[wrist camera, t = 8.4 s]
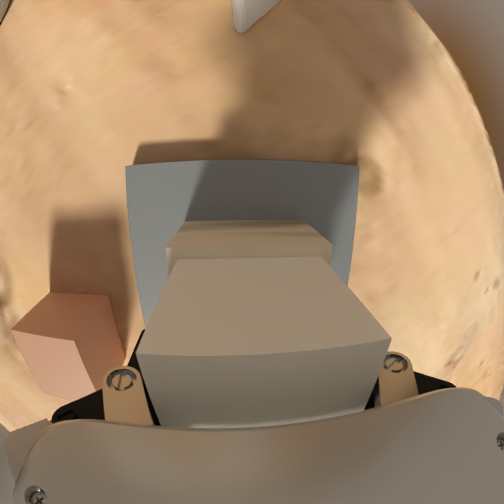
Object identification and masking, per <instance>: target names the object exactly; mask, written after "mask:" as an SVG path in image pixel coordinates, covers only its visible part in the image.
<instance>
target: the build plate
mask: <svg viewBox="0 0 504 504" xmlns="http://www.w3.org/2000/svg"><path fill="white" fill-rule="evenodd" d="M125 169H126V191H127V206H128V218H129V228H130V238H131V246H132V254H133V261H134V268H135V275H136V281H137V287H138V293H139V298H140V303H141V309H142V314H143V318H144V323H145V328H146V327H147V325H148V322H149V320H150V318H151V315H152V313H153V311H154V309H155V306H156V304H157V302H158V300H159V297H160V295H161V293H162V291H163V289H164V286H165V284H166V282H167V280H168V278H169V275H168V265H167V256H166V247H167V245H168V244H169V242H170V241H171V239H172V238H173V237H174V235H175V234H176V232H177V231H178V230H179V228H180V227H181V225H182V224H183V223H184V221H222V220H304V221H305V222H306V223H308V224H309V225H310V226H311V227H312V228H314V229H315V230H316V231H317V232H318V233H320V234H321V235H322V236H323V237H324V238H326V239H327V240H328V241H329V242H330V243H331V244H333V249H332V259H331V268H332V269H333V270H334V272H335V273H336V274H337V275H338V276H339V277H340V278H341V279H342V280H343V282H344V283H345V284H346V285H348V278H349V271H350V264H351V257H352V249H353V240H354V231H355V220H356V209H357V196H358V179H359V166H357V165H347V164H336V163H323V162H308V161H288V160H198V161H178V162H163V163H150V164H140V165H130V166H125Z"/></svg>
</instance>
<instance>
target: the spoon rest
mask: <svg viewBox="0 0 504 504" xmlns="http://www.w3.org/2000/svg"><path fill="white" fill-rule="evenodd" d="M280 1H281V0H231V5H232V12H233V24H234V28H235V30H236V31H237V32H239V33H243V32H245V31H246V30H248V29H249V28H250V27H251V26H252V25H253V24H254V23H256V22H257V21H258V20H259V19H260V18H261V17H262V16H264V15H265V14H266V13H267V12H268V11H270V10H271V9H272V8H273V7H274V6H275V5H277V4H278V3H279V2H280Z"/></svg>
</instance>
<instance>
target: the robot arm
mask: <svg viewBox="0 0 504 504" xmlns="http://www.w3.org/2000/svg"><path fill="white" fill-rule="evenodd" d="M9 2H10V0H0V22H1V20H2V18H3V16H4V14H5V12H6V10H7V7H8V5H9ZM144 332H145V329H144V330H143V331H142V332H141V335H140V337H139V339H138V342H137V344H136V346H135V349H134V351H133V353H132V356H131V358H130V361H129V363H128V365H127V366H119V367H115V368H113V369H111V370H109V371H108V372H107V373H106V374H105V375H104V377H103V380H102V389H100V390H98V391H95V392H93V393H91V394H89V395H87V396H85V397H82V398H80V399H78V400H76V401H73V402H71V403H69V404H66V405H64V406H62V407H60V408H59V409H57V410H56V411H55V412H54V414H53V416H52V420H50V421H48V420H47V418H46V419H44V420H41V421H39V422H36V423H33V424H31V425H28V426H25V427H23V428H20V429H17V430H15V431H12V432H10V433H9V434H8V435H7V436H6V437H5V440H4V448H5V452H6V456H7V459H8V462H9V466H10V469H11V472H12V475H13V478H14V481H15V487H14V490H13V493H12V497H11V500H10V504H504V418H503V406H502V404H501V403H500V402H499V401H498V400H496V399H494V398H490V397H485V396H483V395H482V394H481V393H479V392H478V391H476V390H474V389H470V388H461V387H460V388H457V387H456V386H455V385H453V384H452V383H450V382H447V381H444V380H440V379H437V378H433V377H430V376H427V375H424V374H420V373H417V372H414V371H413V368H412V364H411V361H410V360H409V359H408V358H407V357H406V356H405V355H403V354H401V353H398V352H393V351H391V352H387V354H386V356H385V359H384V362H383V365H382V367H381V370H380V373H379V375H378V378H377V380H376V383H375V385H374V388H373V390H372V392H371V395H370V397H369V399H368V402H367V404H366V406H365V408H364V410H363V411H359V412H355V413H350V414H345V415H341V416H336V417H330V418H325V419H319V420H313V421H306V422H299V423H291V424H282V425H272V426H260V427H242V428H186V427H170V426H161V424H160V422H159V419H158V417H157V414H156V412H155V409H154V407H153V404H152V401H151V399H150V396H149V393H148V390H147V387H146V385H145V382H144V379H143V376H142V372H141V369H140V366H139V363H138V360H137V356H136V351H137V348H138V346H139V344H140V341H141V339H142V336H143V334H144Z"/></svg>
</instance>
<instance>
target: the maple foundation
mask: <svg viewBox="0 0 504 504" xmlns="http://www.w3.org/2000/svg"><path fill="white" fill-rule="evenodd" d="M332 249H333V244H331V243H330V242H329V241H328V240H327V239H326V238H324V237H323V236H322V235H321V234H320V233H318V232H317V231H316V230H315V229H314V228H312V227H311V226H310V225H309V224H308V223H306V222H305V221H304V220H222V221H184V223H183V224H182V225H181V227H180V228H179V230H178V231H177V232H176V234H175V235H174V237H173V238H172V239H171V241H170V242H169V244H168V245H167V247H166V256H167V265H168V275H169V276H170V274H171V272H172V269H173V267H174V265H175V263H176V261H177V259H209V258H258V257H302V256H321V257H322V258H323V259H324V260H325V262H326V263H327V264H328V265H329V266H330V267H331V259H332Z"/></svg>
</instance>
